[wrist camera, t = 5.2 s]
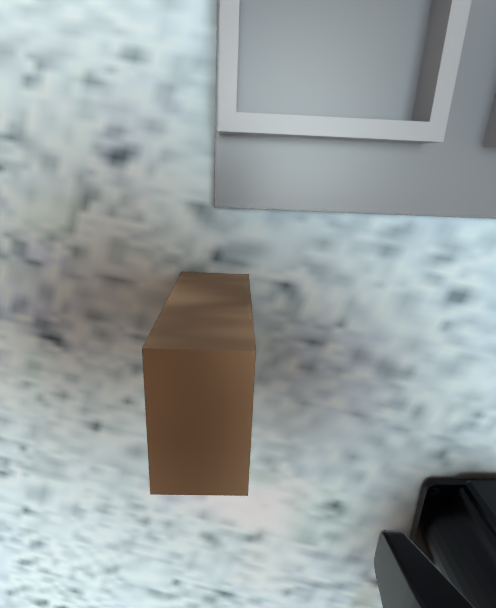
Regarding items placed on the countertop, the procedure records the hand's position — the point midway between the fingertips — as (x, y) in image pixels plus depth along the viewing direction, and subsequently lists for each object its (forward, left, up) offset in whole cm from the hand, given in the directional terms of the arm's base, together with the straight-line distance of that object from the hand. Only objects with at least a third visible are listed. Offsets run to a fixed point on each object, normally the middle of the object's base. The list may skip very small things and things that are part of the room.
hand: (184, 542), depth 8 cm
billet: (0, 0, -11) cm, 11 cm away
